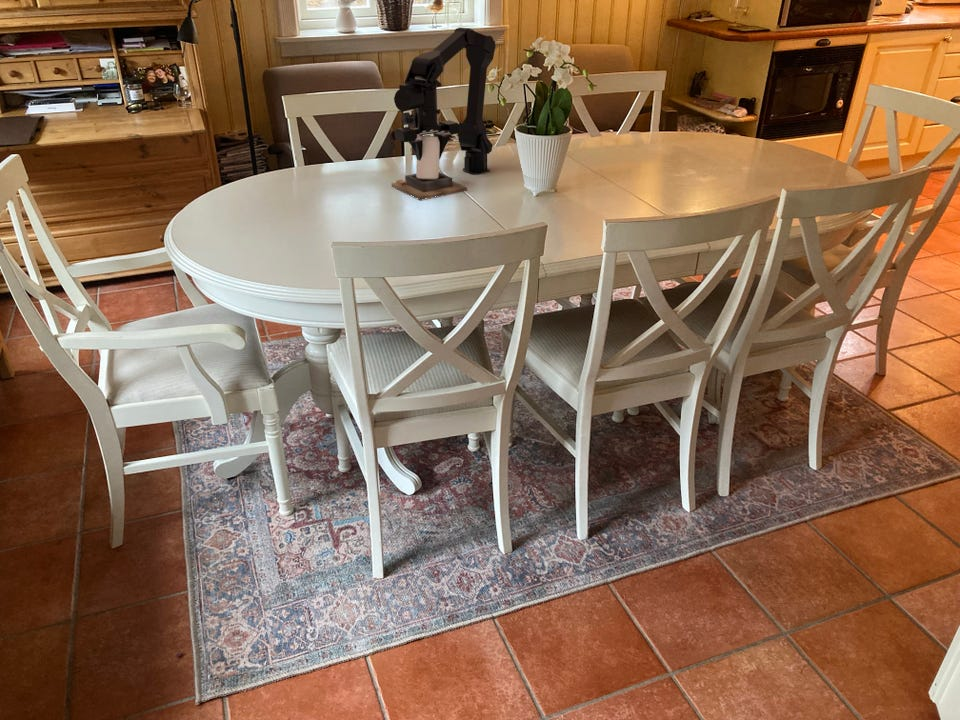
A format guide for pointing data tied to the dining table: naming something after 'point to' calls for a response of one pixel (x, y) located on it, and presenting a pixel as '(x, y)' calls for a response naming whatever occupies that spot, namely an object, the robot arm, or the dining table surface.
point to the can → (429, 159)
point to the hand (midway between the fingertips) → (429, 161)
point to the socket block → (428, 186)
